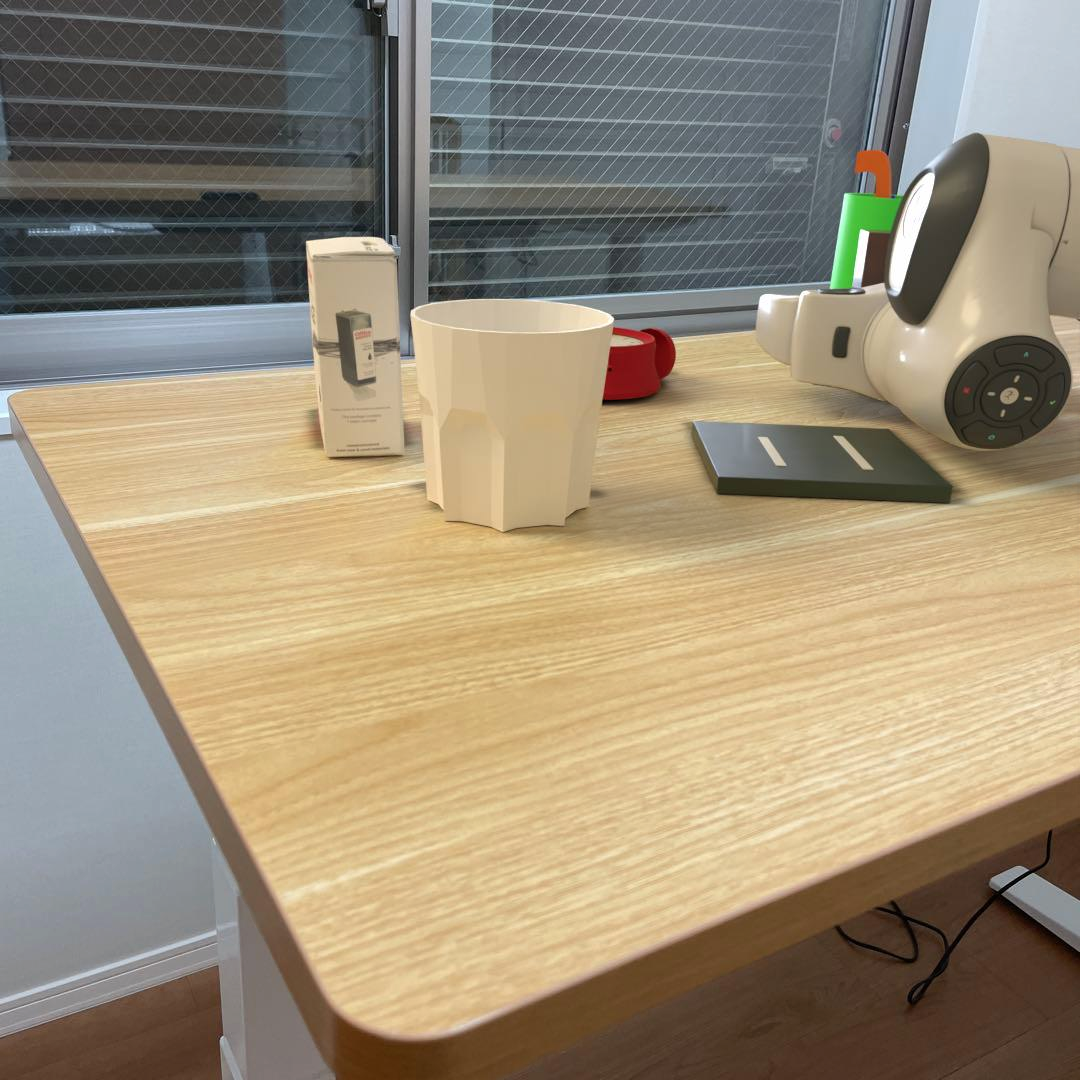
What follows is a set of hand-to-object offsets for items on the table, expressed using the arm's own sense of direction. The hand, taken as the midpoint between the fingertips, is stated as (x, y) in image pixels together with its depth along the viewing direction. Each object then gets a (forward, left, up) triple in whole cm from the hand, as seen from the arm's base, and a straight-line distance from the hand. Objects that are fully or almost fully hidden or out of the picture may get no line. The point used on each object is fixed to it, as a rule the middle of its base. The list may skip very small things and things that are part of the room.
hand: (865, 311), depth 86 cm
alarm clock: (+22, +7, -6) cm, 24 cm away
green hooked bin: (-4, -12, -6) cm, 14 cm away
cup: (+28, +36, -6) cm, 46 cm away
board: (+10, +27, -6) cm, 29 cm away
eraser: (0, +1, -6) cm, 6 cm away
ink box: (+38, +25, -6) cm, 46 cm away
